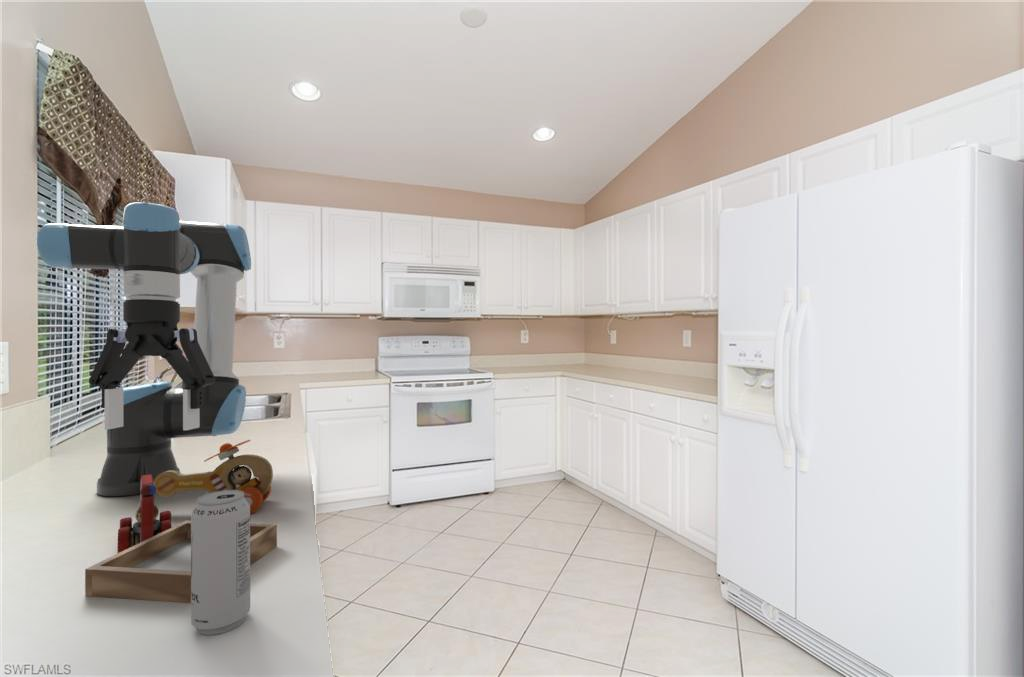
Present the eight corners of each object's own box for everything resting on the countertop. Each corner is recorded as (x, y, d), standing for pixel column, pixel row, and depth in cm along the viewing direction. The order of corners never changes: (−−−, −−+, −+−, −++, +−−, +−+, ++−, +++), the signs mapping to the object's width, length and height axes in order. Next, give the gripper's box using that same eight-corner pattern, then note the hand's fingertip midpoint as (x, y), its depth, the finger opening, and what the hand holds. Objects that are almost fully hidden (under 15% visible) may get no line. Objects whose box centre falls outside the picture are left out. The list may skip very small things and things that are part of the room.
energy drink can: (200, 613, 60) (199, 491, 60) (254, 604, 62) (254, 486, 62) (183, 642, 54) (183, 507, 54) (244, 632, 56) (244, 501, 56)
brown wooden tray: (186, 541, 81) (186, 520, 81) (276, 546, 79) (276, 524, 79) (85, 595, 64) (85, 569, 64) (197, 603, 62) (197, 575, 62)
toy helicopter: (266, 513, 94) (266, 442, 94) (143, 522, 89) (143, 447, 89) (277, 499, 102) (277, 433, 102) (164, 507, 97) (164, 438, 97)
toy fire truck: (116, 564, 73) (116, 495, 73) (120, 537, 83) (120, 476, 83) (173, 552, 77) (172, 486, 77) (170, 527, 87) (170, 469, 87)
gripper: (59, 298, 78) (60, 431, 77) (207, 296, 75) (208, 433, 75) (103, 302, 85) (103, 423, 85) (238, 300, 83) (239, 425, 83)
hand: (152, 428), depth 80 cm, fingers open, 13 cm apart
